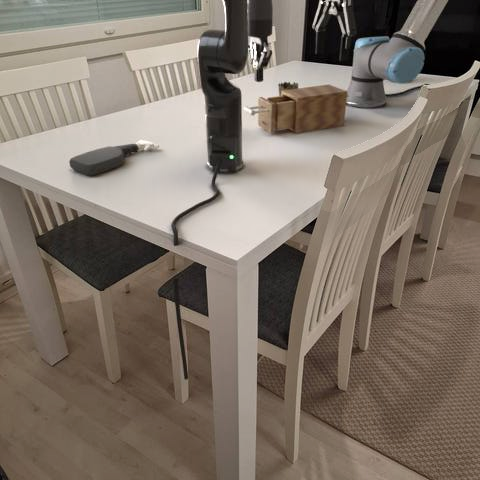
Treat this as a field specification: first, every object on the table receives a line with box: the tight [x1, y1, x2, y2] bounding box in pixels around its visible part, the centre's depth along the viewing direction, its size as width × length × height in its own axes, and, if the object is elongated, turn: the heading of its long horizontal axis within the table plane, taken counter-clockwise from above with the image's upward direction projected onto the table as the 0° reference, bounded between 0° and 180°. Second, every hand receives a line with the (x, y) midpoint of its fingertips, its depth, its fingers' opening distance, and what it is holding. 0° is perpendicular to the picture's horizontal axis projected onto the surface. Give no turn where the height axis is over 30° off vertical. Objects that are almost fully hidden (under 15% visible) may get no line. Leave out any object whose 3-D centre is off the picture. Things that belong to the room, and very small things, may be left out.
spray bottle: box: [68, 139, 160, 177], centre depth 124 cm, size 3×11×24 cm
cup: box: [277, 81, 300, 96], centre depth 166 cm, size 8×7×8 cm
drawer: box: [243, 95, 296, 134], centre depth 142 cm, size 23×9×9 cm, turn 113°
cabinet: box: [281, 84, 347, 134], centre depth 146 cm, size 18×11×11 cm, turn 113°
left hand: (258, 81), depth 134 cm, fingers closed
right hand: (331, 56), depth 139 cm, fingers open, 13 cm apart
